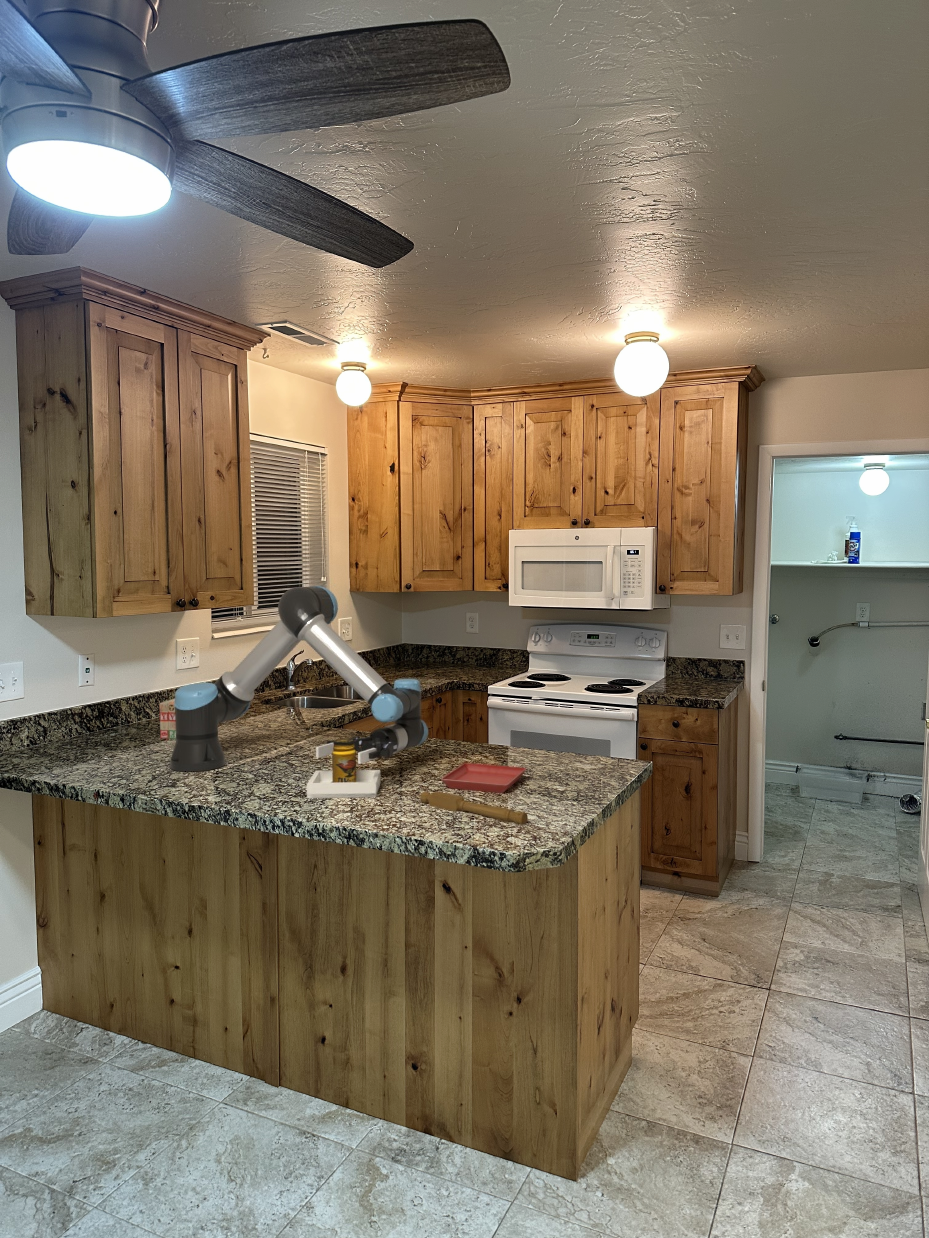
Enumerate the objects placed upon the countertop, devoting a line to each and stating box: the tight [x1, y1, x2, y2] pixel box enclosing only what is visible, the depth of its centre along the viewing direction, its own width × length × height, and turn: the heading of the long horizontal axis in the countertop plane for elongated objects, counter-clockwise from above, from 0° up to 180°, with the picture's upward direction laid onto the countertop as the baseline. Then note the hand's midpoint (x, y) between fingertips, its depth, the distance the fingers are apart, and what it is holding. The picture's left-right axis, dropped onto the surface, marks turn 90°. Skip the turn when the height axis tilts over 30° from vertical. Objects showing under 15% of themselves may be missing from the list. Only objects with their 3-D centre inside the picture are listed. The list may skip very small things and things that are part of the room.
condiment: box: [330, 737, 357, 783], centre depth 213 cm, size 7×8×12 cm
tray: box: [306, 769, 382, 799], centre depth 213 cm, size 17×14×4 cm
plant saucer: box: [440, 762, 527, 794], centre depth 218 cm, size 18×18×3 cm
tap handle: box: [419, 791, 529, 825], centre depth 192 cm, size 3×3×30 cm
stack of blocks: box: [159, 698, 176, 740], centre depth 291 cm, size 21×6×12 cm, turn 169°
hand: (337, 755), depth 210 cm, fingers open, 13 cm apart
